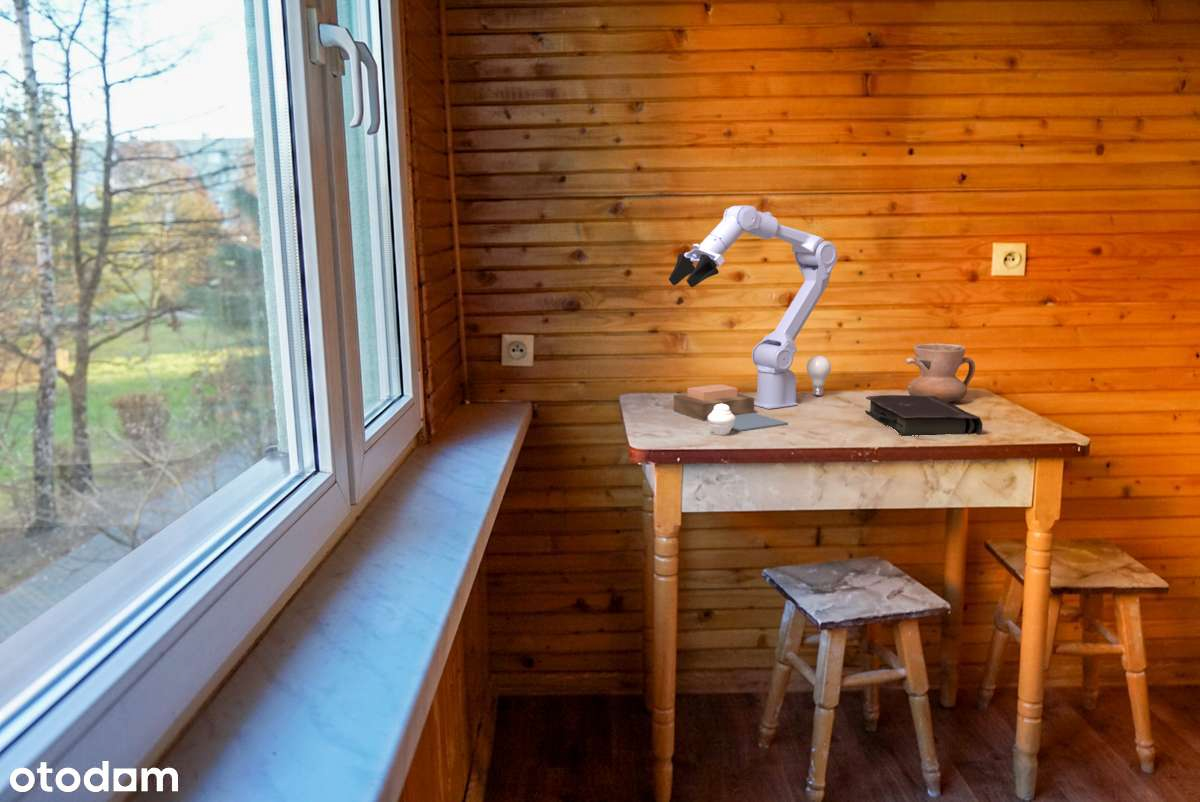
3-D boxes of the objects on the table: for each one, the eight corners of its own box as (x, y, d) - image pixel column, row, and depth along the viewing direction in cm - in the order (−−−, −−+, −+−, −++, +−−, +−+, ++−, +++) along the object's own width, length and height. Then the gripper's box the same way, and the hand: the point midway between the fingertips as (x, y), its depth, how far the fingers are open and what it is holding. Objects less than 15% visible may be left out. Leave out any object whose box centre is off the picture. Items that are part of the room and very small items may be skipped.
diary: (936, 414, 229) (937, 394, 228) (981, 438, 205) (983, 415, 204) (861, 414, 229) (862, 394, 228) (898, 438, 204) (899, 416, 203)
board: (722, 404, 240) (723, 389, 239) (754, 413, 229) (754, 397, 228) (673, 411, 233) (673, 395, 232) (703, 420, 222) (703, 404, 221)
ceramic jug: (912, 407, 234) (915, 350, 232) (895, 396, 249) (897, 342, 246) (984, 406, 234) (988, 350, 231) (963, 395, 248) (966, 342, 246)
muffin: (738, 432, 210) (739, 401, 209) (730, 437, 205) (730, 406, 203) (712, 429, 213) (713, 399, 212) (703, 435, 208) (703, 404, 206)
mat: (753, 414, 228) (753, 412, 228) (788, 424, 217) (788, 422, 217) (706, 420, 222) (706, 419, 222) (738, 431, 210) (739, 429, 210)
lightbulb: (802, 394, 252) (804, 353, 250) (826, 393, 253) (827, 353, 251) (809, 398, 246) (810, 357, 244) (833, 398, 247) (834, 356, 244)
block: (720, 391, 236) (720, 384, 236) (737, 396, 230) (737, 388, 230) (687, 395, 231) (687, 388, 231) (703, 400, 225) (703, 392, 225)
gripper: (690, 230, 227) (654, 269, 224) (725, 231, 214) (688, 272, 211) (706, 252, 230) (670, 290, 227) (741, 254, 218) (704, 294, 215)
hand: (680, 283), depth 220 cm, fingers open, 7 cm apart
